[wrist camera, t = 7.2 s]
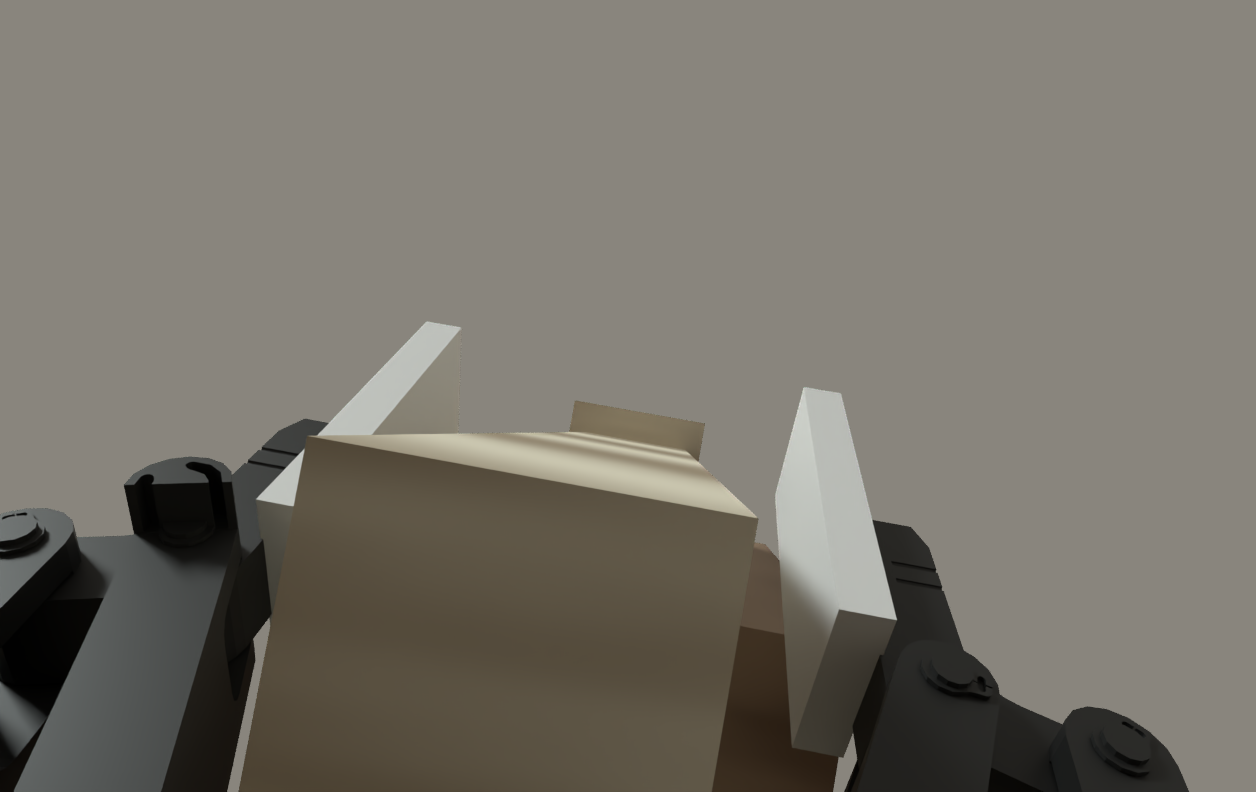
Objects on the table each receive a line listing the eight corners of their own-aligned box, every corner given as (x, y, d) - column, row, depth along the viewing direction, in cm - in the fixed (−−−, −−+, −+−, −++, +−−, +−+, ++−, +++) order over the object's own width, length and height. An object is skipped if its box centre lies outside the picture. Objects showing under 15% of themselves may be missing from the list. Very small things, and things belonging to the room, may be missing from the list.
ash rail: (570, 514, 32) (589, 405, 32) (678, 534, 32) (698, 424, 32) (156, 879, 6) (269, 298, 6) (745, 1009, 6) (847, 398, 6)
